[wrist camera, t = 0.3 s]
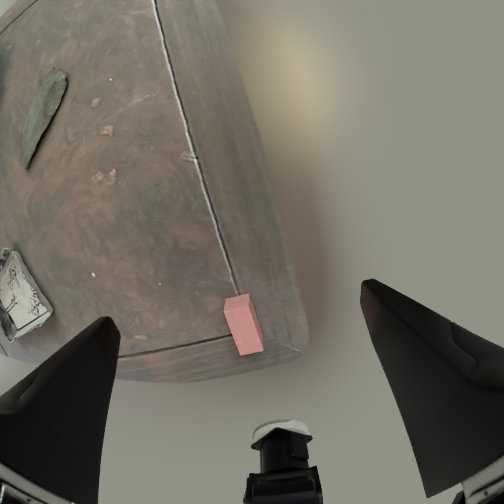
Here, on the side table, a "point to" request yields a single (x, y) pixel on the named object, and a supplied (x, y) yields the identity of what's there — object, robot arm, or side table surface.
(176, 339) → the side table surface
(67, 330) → the side table surface
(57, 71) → the stone
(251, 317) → the eraser
